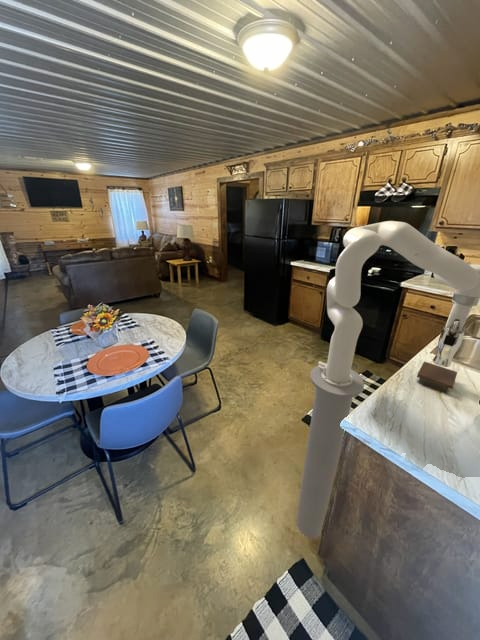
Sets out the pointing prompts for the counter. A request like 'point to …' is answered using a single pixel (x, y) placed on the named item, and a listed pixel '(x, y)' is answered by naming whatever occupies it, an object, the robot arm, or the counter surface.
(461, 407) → the counter surface
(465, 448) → the counter surface
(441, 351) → the beer glass
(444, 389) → the lidded box
